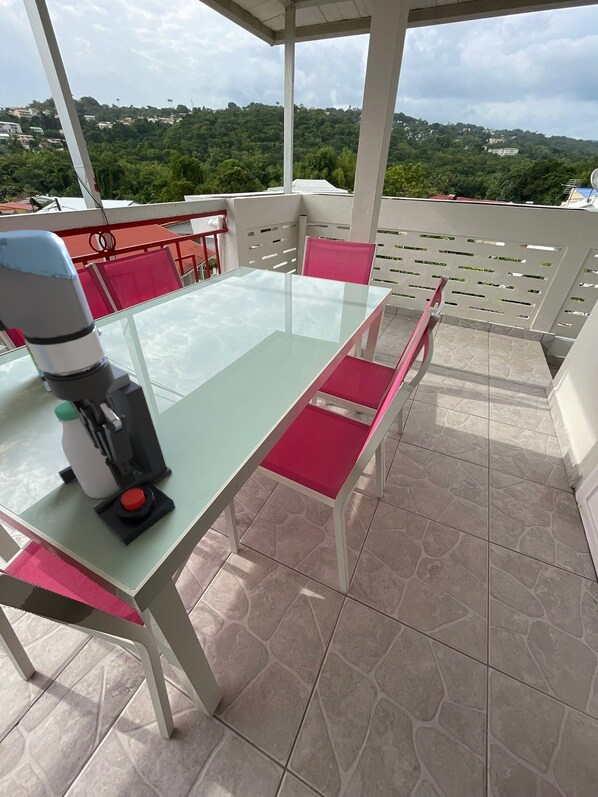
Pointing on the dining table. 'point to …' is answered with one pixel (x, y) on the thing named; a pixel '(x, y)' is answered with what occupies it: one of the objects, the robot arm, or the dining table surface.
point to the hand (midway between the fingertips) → (127, 482)
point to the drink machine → (132, 437)
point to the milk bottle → (84, 455)
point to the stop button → (133, 499)
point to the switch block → (137, 514)
